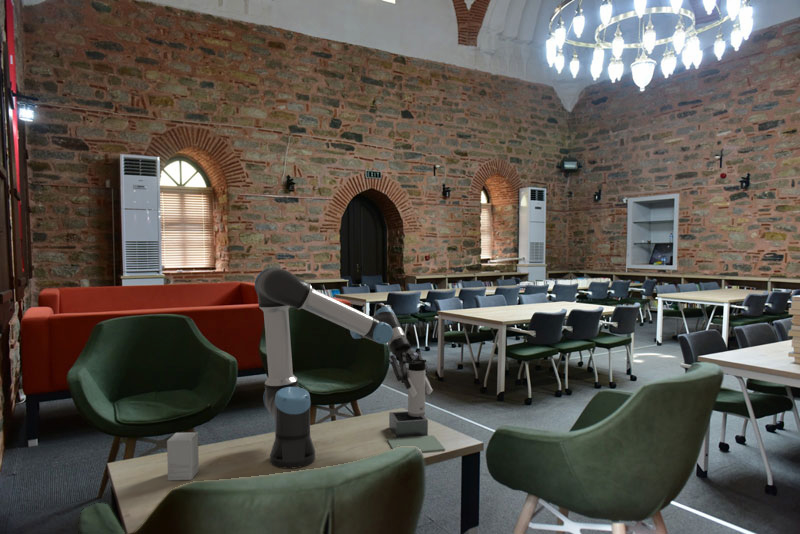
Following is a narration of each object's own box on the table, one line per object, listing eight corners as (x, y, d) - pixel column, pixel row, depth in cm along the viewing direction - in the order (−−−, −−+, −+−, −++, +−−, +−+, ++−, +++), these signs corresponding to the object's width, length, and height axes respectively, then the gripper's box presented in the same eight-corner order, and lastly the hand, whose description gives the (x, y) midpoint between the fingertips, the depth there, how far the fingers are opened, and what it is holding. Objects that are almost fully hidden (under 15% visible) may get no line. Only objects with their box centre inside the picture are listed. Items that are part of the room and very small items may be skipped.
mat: (395, 455, 182) (395, 453, 182) (387, 440, 196) (387, 439, 196) (445, 450, 186) (445, 448, 186) (433, 436, 200) (433, 435, 200)
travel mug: (426, 417, 189) (426, 362, 188) (407, 416, 189) (408, 361, 188) (425, 411, 195) (426, 358, 194) (408, 411, 195) (408, 358, 194)
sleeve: (396, 438, 198) (396, 422, 198) (389, 427, 210) (389, 412, 210) (427, 435, 201) (427, 420, 201) (419, 424, 213) (419, 410, 213)
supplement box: (199, 470, 169) (199, 431, 168) (191, 480, 161) (190, 440, 161) (176, 470, 168) (175, 432, 168) (166, 480, 161) (166, 440, 161)
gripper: (414, 345, 209) (439, 395, 196) (372, 350, 199) (396, 403, 186) (422, 333, 205) (448, 384, 192) (380, 338, 194) (404, 392, 181)
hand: (422, 393), depth 189 cm, fingers closed on travel mug, 6 cm apart
